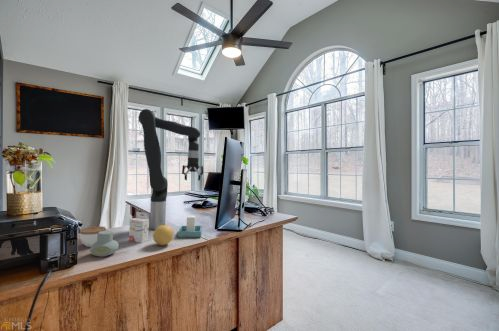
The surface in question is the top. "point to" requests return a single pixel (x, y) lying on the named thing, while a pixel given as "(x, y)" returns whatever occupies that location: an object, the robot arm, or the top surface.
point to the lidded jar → (90, 235)
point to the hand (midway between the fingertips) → (192, 180)
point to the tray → (189, 232)
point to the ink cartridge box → (139, 228)
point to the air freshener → (104, 244)
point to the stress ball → (163, 235)
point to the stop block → (190, 223)
